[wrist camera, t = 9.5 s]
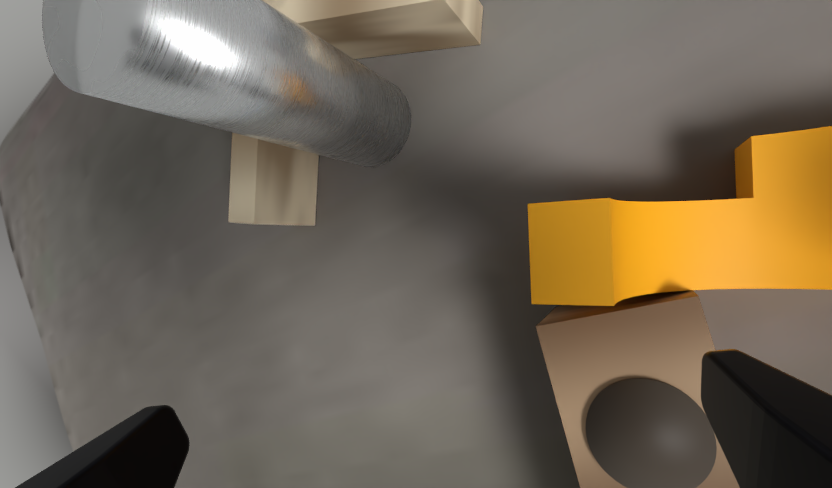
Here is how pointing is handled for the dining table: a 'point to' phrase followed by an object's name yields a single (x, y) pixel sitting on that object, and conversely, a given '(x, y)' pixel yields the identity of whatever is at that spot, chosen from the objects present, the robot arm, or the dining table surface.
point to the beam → (635, 392)
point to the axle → (228, 73)
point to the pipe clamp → (695, 232)
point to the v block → (358, 38)
